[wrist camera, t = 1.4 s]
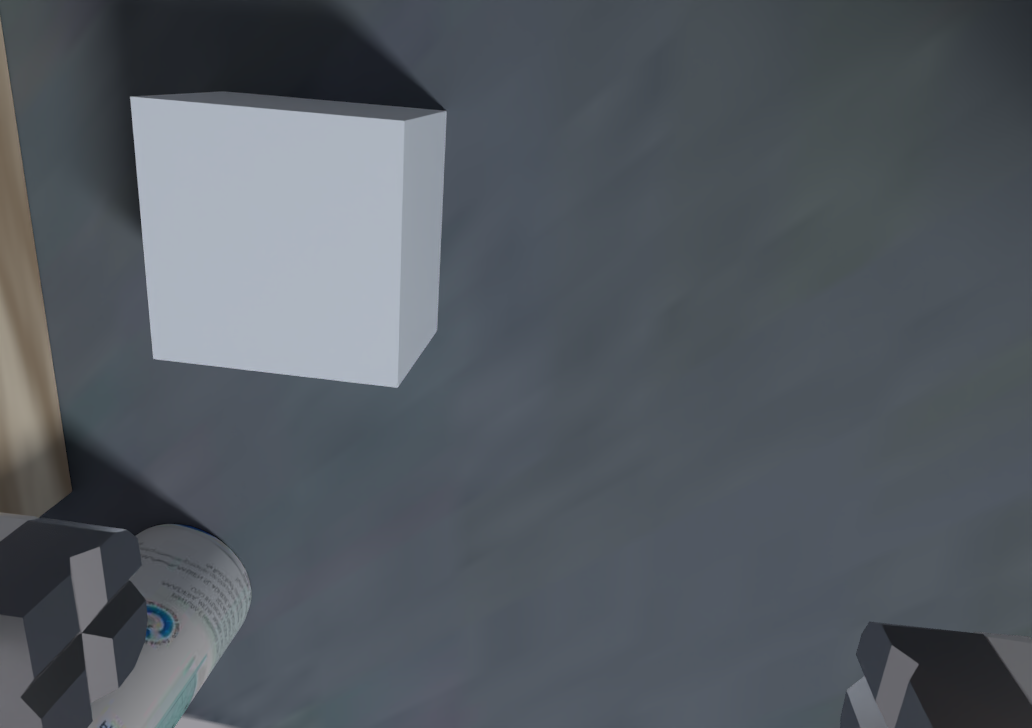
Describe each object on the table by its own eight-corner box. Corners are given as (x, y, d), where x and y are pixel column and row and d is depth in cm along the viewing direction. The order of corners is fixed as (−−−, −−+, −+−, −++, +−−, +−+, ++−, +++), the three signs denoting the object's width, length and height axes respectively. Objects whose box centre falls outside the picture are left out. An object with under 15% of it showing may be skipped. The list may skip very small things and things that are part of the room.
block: (447, 110, 28) (404, 121, 22) (437, 329, 31) (397, 387, 25) (225, 91, 28) (130, 96, 23) (236, 307, 31) (153, 359, 26)
